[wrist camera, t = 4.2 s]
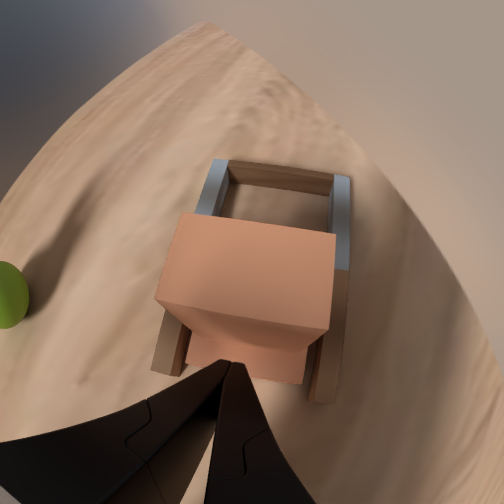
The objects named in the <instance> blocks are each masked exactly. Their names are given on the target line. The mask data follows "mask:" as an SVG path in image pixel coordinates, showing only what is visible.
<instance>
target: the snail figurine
mask: <svg viewBox="0 0 504 504" xmlns="http://www.w3.org/2000/svg"><path fill="white" fill-rule="evenodd" d="M28 305H29V290H28V286H27V283H26V280H25V278H24V276H23V275H22V273H21V272H20V271H19V270H18V269H17V268H16V267H15V266H14V265H12V264H10V263H8V262H4V261H0V329H7V328H11V327H13V326H15V325H17V324H18V323H19V322H20V321H21V320H22V319H23V317H24V316H25V314H26V312H27V309H28Z"/></svg>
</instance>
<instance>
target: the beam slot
mask: <svg viewBox="0 0 504 504" xmlns="http://www.w3.org/2000/svg"><path fill="white" fill-rule="evenodd" d="M229 182H230V183H238V184H247V185H255V186H263V187H271V188H278V189H285V190H292V191H299V192H305V193H311V194H318V195H324V196H329V210H328V230H327V233H331V234H336V247H335V264H334V278H333V290H332V302H331V312H330V322H329V330H328V331H326V332H325V333H324V334H323V335H321V336H320V337H319V338H318V339H317V344H316V352H315V359H314V365H313V372H312V378H311V384H310V390H309V396H308V401H311V402H315V403H327V404H335V400H336V394H337V388H338V381H339V374H340V366H341V359H342V350H343V341H344V332H345V321H346V310H347V296H348V280H349V257H350V177H346V176H341V175H335V174H329V173H324V172H318V171H311V170H305V169H298V168H291V167H284V166H277V165H269V164H261V163H252V162H243V161H233V160H222V159H213V162H212V165H211V167H210V170H209V173H208V176H207V179H206V181H205V184H204V187H203V190H202V193H201V196H200V199H199V201H198V204H197V207H196V210H195V213H194V214H200V215H208V216H215V217H219V216H220V213H221V209H222V206H223V202H224V199H225V195H226V192H227V189H228V185H229ZM189 332H190V329H189V328H188V327H187V326H185V325H184V324H183V323H182V322H181V321H179V320H178V319H177V318H176V317H175V316H173V315H172V314H171V313H170V312H169V311H168V310H165V314H164V317H163V321H162V325H161V329H160V333H159V337H158V341H157V345H156V349H155V354H154V358H153V362H152V366H151V370H152V371H155V372H159V373H162V374H166V375H169V376H177V377H179V376H180V372H181V367H182V363H183V358H184V354H185V349H186V345H187V341H188V336H189Z"/></svg>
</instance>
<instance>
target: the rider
mask: <svg viewBox="0 0 504 504" xmlns="http://www.w3.org/2000/svg"><path fill="white" fill-rule="evenodd" d="M335 247H336V234H331V233H325V232H319V231H313V230H306V229H300V228H293V227H287V226H280V225H273V224H266V223H259V222H252V221H245V220H238V219H231V218H223V217H215V216H208V215H200V214H192V213H184V212H182V214H181V216H180V219H179V222H178V225H177V228H176V231H175V234H174V237H173V240H172V243H171V246H170V249H169V252H168V255H167V258H166V261H165V264H164V268H163V271H162V274H161V277H160V281H159V284H158V287H157V291H156V294H155V298H154V299H155V300H156V301H157V302H158V303H159V304H161V305H162V306H163V307H164V308H165V309H166V310H168V311H169V312H170V313H171V314H172V315H173V316H175V317H176V318H177V319H178V320H179V321H181V322H182V323H183V324H184V325H185V326H187V327H188V328H189V329H190V330H192V335H191V339H190V344H189V348H188V352H187V357H186V361H185V363H187V364H190V365H194V366H197V367H201V368H205V367H206V366H208V365H210V364H212V363H213V362H215V361H217V360H219V359H224V360H229V361H231V362H240V363H244V364H245V365H246V368H247V370H248V373H249V376H250V377H251V378H257V379H263V380H269V381H276V382H283V383H290V384H302V382H303V376H304V370H305V363H306V357H307V350H308V346H309V345H310V344H311V343H313V342H314V341H315V340H316V339H318V338H319V337H320V336H321V335H323V334H324V333H325V332H326V331H328V330H329V322H330V312H331V302H332V290H333V278H334V264H335Z"/></svg>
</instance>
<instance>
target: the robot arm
mask: <svg viewBox="0 0 504 504" xmlns="http://www.w3.org/2000/svg"><path fill="white" fill-rule="evenodd" d="M214 432H215V434H214ZM213 434H214V441H213V447H212V453H211V460H210V466H209V473H208V479H207V486H206V492H205V499H204V504H316V503H315V501H314V500H313V498H312V497H311V496H310V494H309V493H308V491H307V490H306V489H305V487H304V486H303V484H302V483H301V481H300V480H299V478H298V477H297V476H296V474H295V473H294V471H293V470H292V468H291V467H290V465H289V464H288V462H287V460H286V459H285V457H284V455H283V454H282V452H281V450H280V448H279V446H278V444H277V442H276V440H275V438H274V435H273V433H272V431H271V429H270V427H269V424H268V422H267V419H266V417H265V414H264V412H263V409H262V407H261V404H260V402H259V399H258V397H257V394H256V391H255V389H254V386H253V384H252V381H251V378H250V376H249V373H248V370H247V368H246V365H245V364H244V363H240V362H231V361H229V360H224V359H219V360H217V361H215V362H213V363H212V364H210V365H208V366H206V367H205V368H203V369H201V370H199V371H198V372H196V373H194V374H192V375H190V376H189V377H187V378H185V379H183V380H181V381H179V382H178V383H176V384H174V385H172V386H170V387H168V388H166V389H164V390H162V391H161V392H159V393H157V394H155V395H153V396H151V397H149V398H147V400H146V399H144V400H142V401H140V402H138V403H136V404H134V405H132V406H129V407H127V408H125V409H123V410H120V411H117V412H115V413H112V414H109V415H106V416H103V417H100V418H97V419H94V420H91V421H87V422H84V423H81V424H77V425H74V426H70V427H67V428H63V429H60V430H56V431H52V432H48V433H44V434H40V435H36V436H31V437H27V438H22V439H17V440H12V441H7V442H0V504H180V502H181V500H182V498H183V496H184V494H185V492H186V490H187V488H188V486H189V484H190V482H191V480H192V478H193V476H194V474H195V472H196V470H197V468H198V466H199V463H200V461H201V459H202V457H203V455H204V453H205V451H206V449H207V447H208V444H209V442H210V440H211V438H212V436H213Z"/></svg>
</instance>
